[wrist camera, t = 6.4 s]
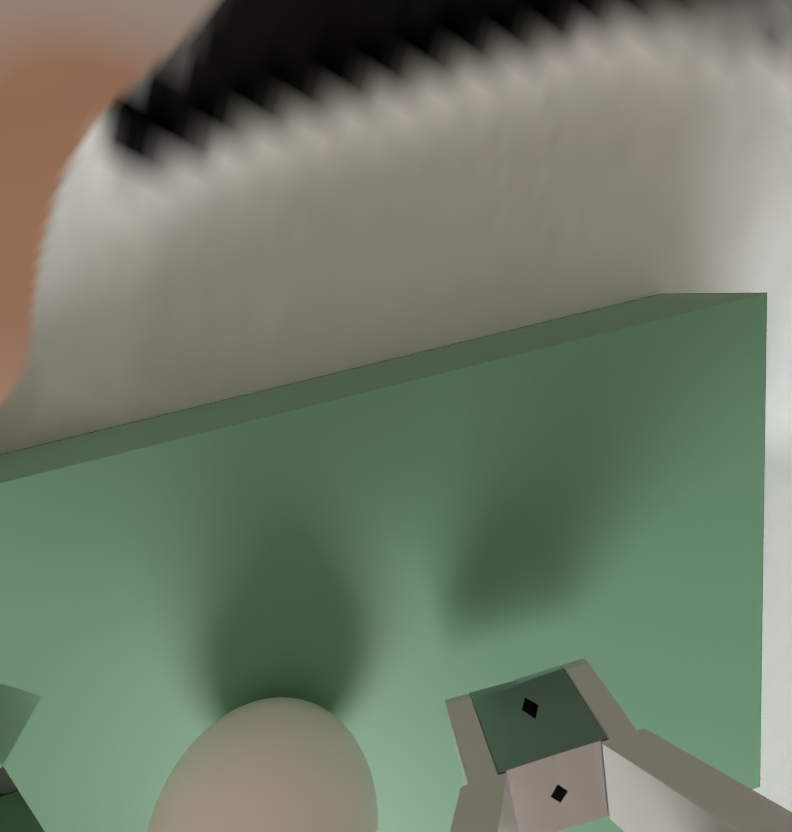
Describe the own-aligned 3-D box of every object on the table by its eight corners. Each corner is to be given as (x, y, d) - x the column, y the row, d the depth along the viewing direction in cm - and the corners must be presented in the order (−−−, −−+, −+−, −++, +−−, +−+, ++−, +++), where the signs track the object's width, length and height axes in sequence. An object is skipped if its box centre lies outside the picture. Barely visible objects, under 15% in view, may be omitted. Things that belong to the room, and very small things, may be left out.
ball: (172, 993, 5) (67, 784, 7) (268, 1177, 6) (146, 938, 9) (400, 705, 8) (266, 626, 10) (438, 864, 9) (308, 756, 11)
